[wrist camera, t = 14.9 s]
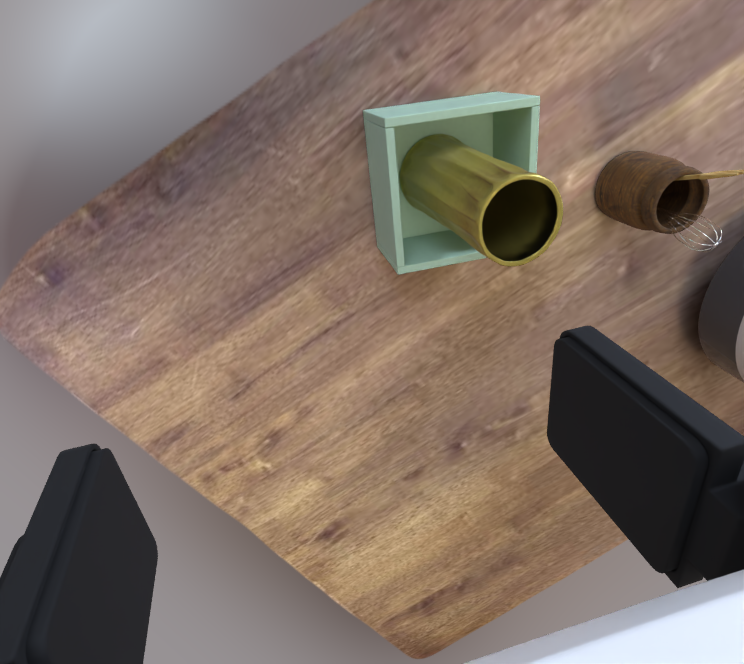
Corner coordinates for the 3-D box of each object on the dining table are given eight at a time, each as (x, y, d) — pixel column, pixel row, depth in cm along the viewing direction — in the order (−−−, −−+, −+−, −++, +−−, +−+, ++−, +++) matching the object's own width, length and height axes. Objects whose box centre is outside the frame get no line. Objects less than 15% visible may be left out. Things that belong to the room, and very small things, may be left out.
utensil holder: (590, 223, 46) (690, 269, 36) (595, 152, 43) (706, 180, 33) (647, 210, 47) (762, 251, 37) (656, 139, 44) (785, 162, 33)
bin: (362, 110, 37) (384, 118, 32) (497, 91, 39) (540, 95, 33) (377, 247, 43) (397, 274, 37) (495, 225, 44) (532, 249, 38)
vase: (417, 226, 42) (490, 292, 30) (386, 158, 39) (453, 200, 26) (481, 189, 42) (582, 241, 29) (456, 118, 39) (556, 143, 26)
